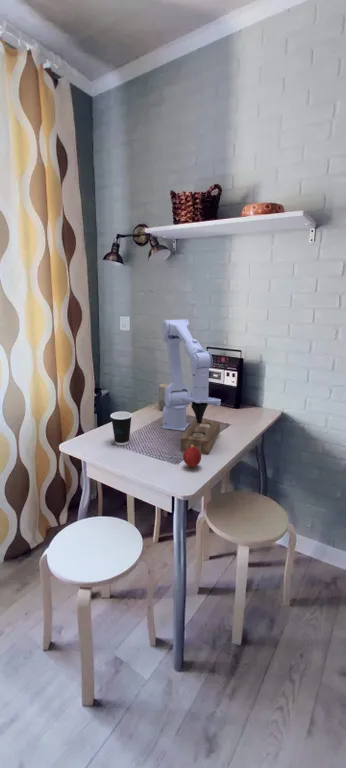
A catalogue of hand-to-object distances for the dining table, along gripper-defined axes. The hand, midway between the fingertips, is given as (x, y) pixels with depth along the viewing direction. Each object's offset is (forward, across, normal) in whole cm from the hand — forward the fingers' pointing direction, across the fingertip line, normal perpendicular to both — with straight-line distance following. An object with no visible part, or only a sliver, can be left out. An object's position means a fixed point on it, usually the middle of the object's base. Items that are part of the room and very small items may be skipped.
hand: (199, 422), depth 140 cm
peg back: (+9, 0, +9) cm, 13 cm away
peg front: (+9, 0, -1) cm, 9 cm away
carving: (+10, -25, +36) cm, 45 cm away
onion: (+10, +2, -17) cm, 19 cm away
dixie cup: (+10, -28, -6) cm, 30 cm away
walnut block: (+9, 0, +4) cm, 10 cm away
